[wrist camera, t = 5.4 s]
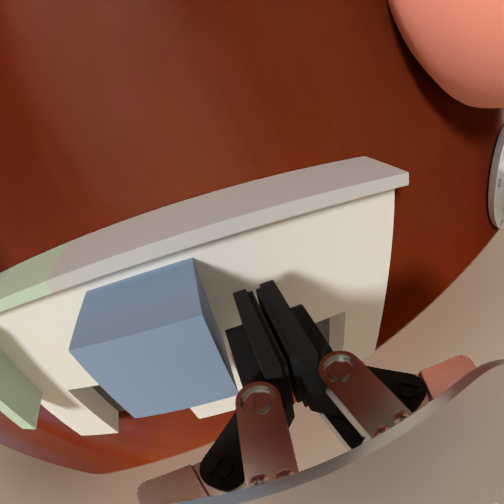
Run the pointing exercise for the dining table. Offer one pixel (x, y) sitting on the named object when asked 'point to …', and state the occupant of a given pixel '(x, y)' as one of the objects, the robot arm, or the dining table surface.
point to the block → (154, 342)
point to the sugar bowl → (457, 45)
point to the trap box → (206, 277)
